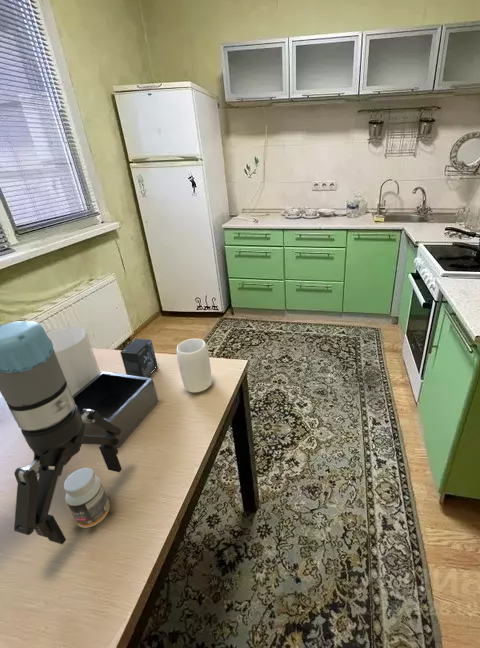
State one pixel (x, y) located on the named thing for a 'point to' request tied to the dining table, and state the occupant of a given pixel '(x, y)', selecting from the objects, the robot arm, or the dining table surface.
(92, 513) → the pill bottle
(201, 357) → the cup
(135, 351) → the box
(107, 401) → the bin
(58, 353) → the container
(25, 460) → the dining table surface
